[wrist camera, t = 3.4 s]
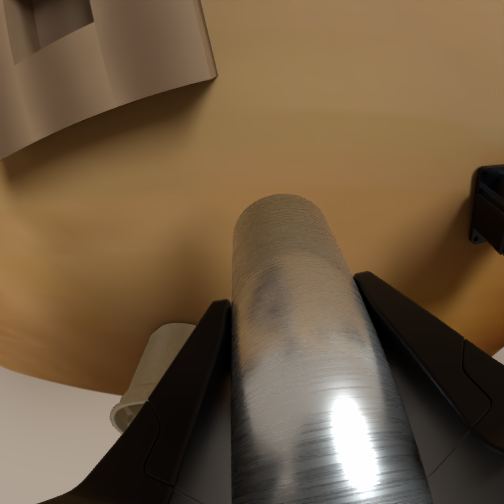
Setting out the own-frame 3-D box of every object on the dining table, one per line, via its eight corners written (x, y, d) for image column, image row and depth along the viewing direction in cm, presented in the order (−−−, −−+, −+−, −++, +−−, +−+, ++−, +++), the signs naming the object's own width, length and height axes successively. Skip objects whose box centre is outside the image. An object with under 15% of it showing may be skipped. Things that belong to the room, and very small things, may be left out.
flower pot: (256, 362, 29) (260, 447, 22) (170, 383, 31) (160, 458, 23) (206, 292, 24) (195, 391, 17) (112, 324, 26) (84, 408, 19)
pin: (323, 185, 10) (466, 496, 2) (331, 267, 12) (411, 525, 4) (222, 205, 10) (202, 547, 3) (244, 284, 12) (255, 554, 4)
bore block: (172, -113, 8) (158, -142, 5) (218, 75, 16) (211, 79, 12) (-14, -18, 9) (-50, -20, 6) (21, 147, 17) (-14, 168, 14)
